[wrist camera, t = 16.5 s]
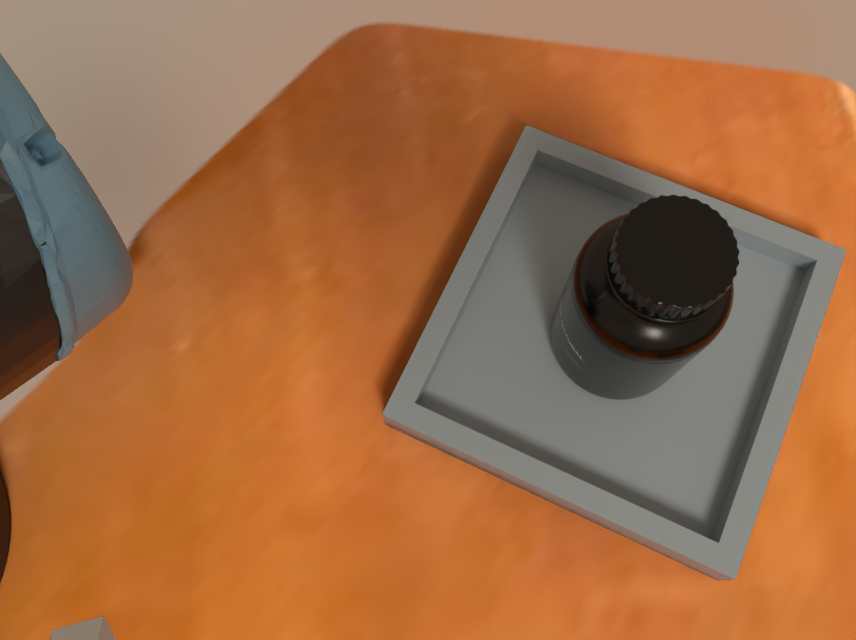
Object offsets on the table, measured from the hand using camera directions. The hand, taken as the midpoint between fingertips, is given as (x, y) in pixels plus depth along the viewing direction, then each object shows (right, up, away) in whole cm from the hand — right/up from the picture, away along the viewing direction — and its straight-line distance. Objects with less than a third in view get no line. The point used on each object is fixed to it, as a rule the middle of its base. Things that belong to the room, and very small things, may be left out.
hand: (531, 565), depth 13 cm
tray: (+8, +3, +30) cm, 31 cm away
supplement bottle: (+8, +3, +29) cm, 30 cm away
